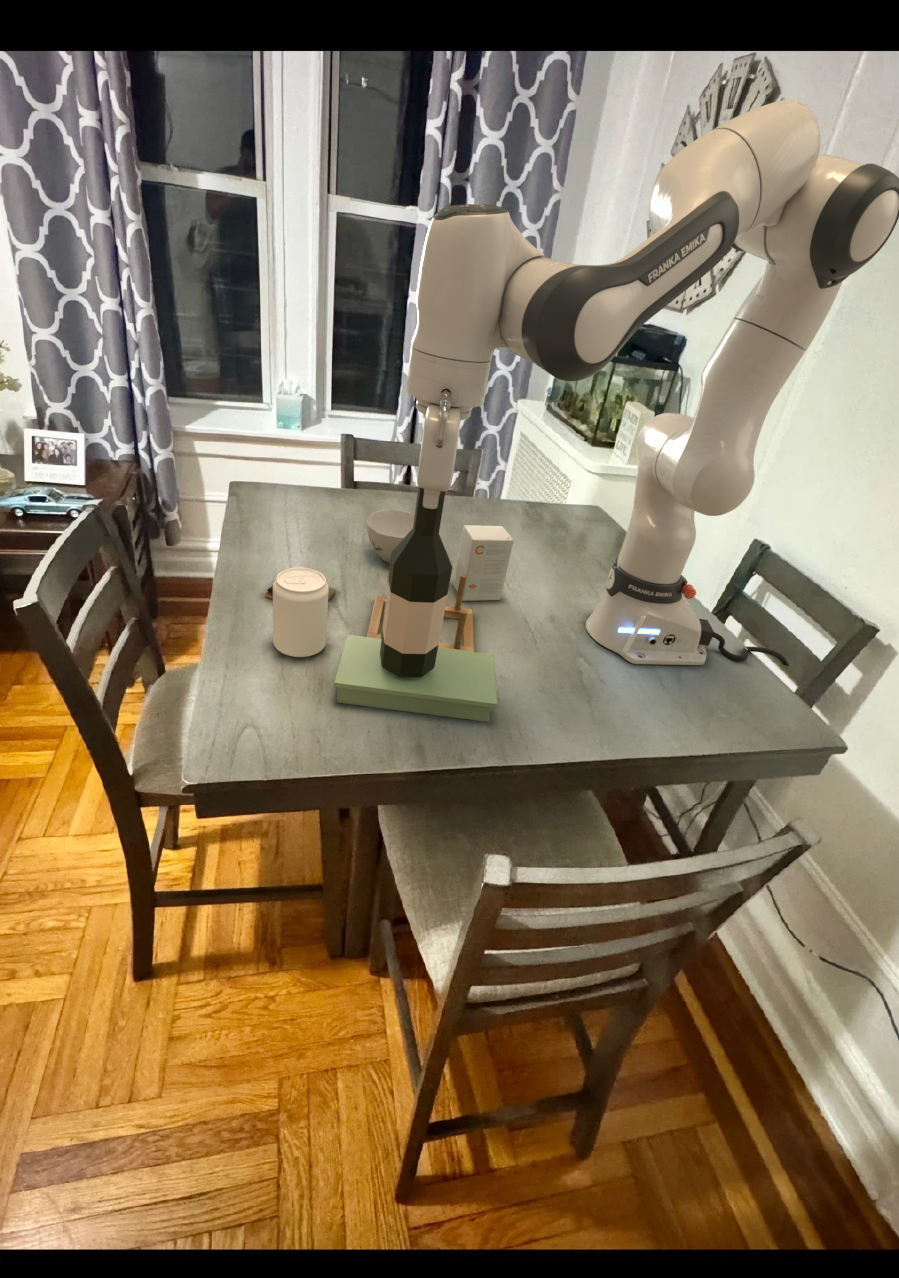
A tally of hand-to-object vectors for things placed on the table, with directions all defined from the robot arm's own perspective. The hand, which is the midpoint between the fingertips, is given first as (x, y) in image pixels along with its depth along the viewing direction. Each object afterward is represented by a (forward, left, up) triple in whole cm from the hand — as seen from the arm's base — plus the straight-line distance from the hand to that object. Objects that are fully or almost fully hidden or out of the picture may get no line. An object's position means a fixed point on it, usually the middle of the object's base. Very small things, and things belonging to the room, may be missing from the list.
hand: (430, 499), depth 74 cm
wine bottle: (0, 0, -25) cm, 25 cm away
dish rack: (-2, -16, -30) cm, 34 cm away
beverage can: (+17, -7, -30) cm, 35 cm away
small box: (-12, -32, -30) cm, 46 cm away
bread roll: (+20, -22, -30) cm, 42 cm away
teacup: (+4, -42, -30) cm, 52 cm away
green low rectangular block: (-2, 0, -30) cm, 30 cm away
